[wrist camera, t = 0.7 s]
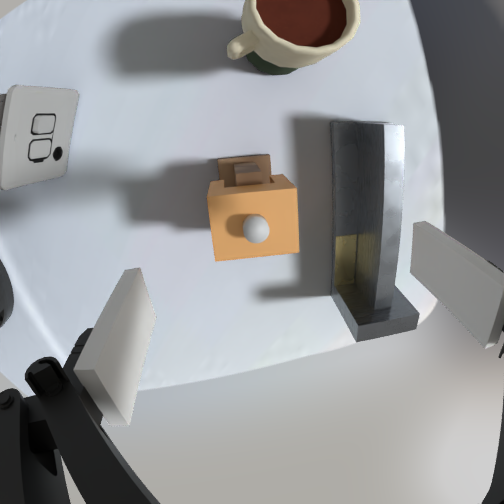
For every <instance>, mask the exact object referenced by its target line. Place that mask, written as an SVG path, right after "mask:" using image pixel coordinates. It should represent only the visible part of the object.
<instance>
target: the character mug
mask: <svg viewBox="0 0 504 504" xmlns="http://www.w3.org/2000/svg"><path fill="white" fill-rule="evenodd" d="M241 24H242V29H243V32H244V33H243V34H241V35H239V36H238V37H236V38H234V39H233V40H231V41H230V43H229V44H228V45H227V55H228V57H229V58H230V59H232V60H235V59H239V58H241V57H243V56H245V55H246V57H247V59H248V61H249V62H250V63H252V64H253V65H254V66H255V67H256V68H257V69H258V70H260V71H263V72H265V73H268V74H271V75H285V74H289V73H291V72H293V71H294V70H296V69H298V68H301V67H305V66H308V65H312V64H315V63H317V62H318V61H320V60H322V59H324V58H325V57H327V56H329V55H331V54H332V53H334V52H336V51H337V50H339V49H340V48H341V47H342V46H344V45H345V44H346V43H347V42H349V41H350V40H351V39H352V38H353V37H354V35H355V33H356V31H357V28H358V26H359V24H360V4H359V2H358V0H245V3H244V6H243V14H242V16H241Z"/></svg>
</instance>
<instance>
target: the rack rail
mask: <svg viewBox="0 0 504 504" xmlns="http://www.w3.org/2000/svg"><path fill="white" fill-rule="evenodd" d="M330 124H331V144H332V175H333V254H332V286H331V297H332V298H333V300H334V302H335V304H336V306H337V307H338V309H339V311H340V313H341V315H342V317H343V318H344V320H345V322H346V324H347V326H348V328H349V329H350V331H351V333H352V335H353V337H354V339H355V341H356V342H360V341H365V340H370V339H375V338H379V337H384V336H389V335H393V334H397V333H402V332H406V331H410V330H414V329H416V327H417V323H418V319H419V314H420V313H419V312H418V311H417V310H416V309H415V308H414V306H413V305H412V304H411V303H410V302H409V301H408V300H407V298H406V297H405V296H404V295H403V294H402V293H401V292H400V291H399V289H398V288H397V287H396V286H395V278H396V270H397V262H398V253H399V244H400V233H401V221H402V207H403V187H404V125H395V124H394V123H373V122H330Z"/></svg>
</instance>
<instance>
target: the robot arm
mask: <svg viewBox="0 0 504 504" xmlns="http://www.w3.org/2000/svg"><path fill="white" fill-rule="evenodd" d="M410 273H411V274H412V275H413V276H414V277H415V278H416V279H417V280H418V281H419V282H421V283H422V284H423V285H424V286H425V287H426V288H427V289H428V290H429V291H430V292H431V293H432V294H433V295H434V296H435V297H436V298H437V299H438V300H439V301H440V302H441V303H442V304H443V305H444V306H445V307H446V308H447V309H448V310H449V311H450V312H451V313H452V314H453V315H454V316H455V317H456V319H457V320H459V322H460V323H461V324H462V325H463V326H464V327H465V328H466V329H467V330H468V331H469V332H470V333H471V334H472V335H473V337H474V338H475V339H476V340H477V341H478V342H479V343H480V344H481V345H482V346H483V348H484V349H486V348H488V347H491V346H493V345H495V344H497V343H498V340H499V338H500V335H501V332H502V331H503V332H504V272H503V271H502V270H501V269H500V268H497V266H495V265H494V264H493V263H491V262H490V261H487V260H485V259H483V258H482V257H480V256H479V255H477V254H476V253H474V252H473V251H471V250H470V249H468V248H467V247H465V246H464V245H462V244H461V243H460V242H458V241H456V240H455V239H453V238H452V237H450V236H449V235H447V234H446V233H444V232H442V231H441V230H439V229H438V228H436V227H434V226H433V225H431V224H430V223H428V222H426V221H422V222H416V223H413V241H412V255H411V267H410ZM13 305H14V297H13V290H12V286H11V282H10V279H9V276H8V274H7V271H6V269H5V267H4V265H3V263H2V262H1V260H0V328H1V327H2V326H3V325H4V324H5V322H6V321H7V320H8V319H9V317H10V316H11V314H12V311H13ZM155 321H156V314H155V311H154V309H153V306H152V303H151V300H150V297H149V294H148V291H147V288H146V285H145V281H144V278H143V275H142V272H141V269H140V268H134V269H128V270H125V271H124V273H123V275H122V276H121V278H120V280H119V282H118V283H117V285H116V287H115V289H114V291H113V292H112V294H111V296H110V298H109V300H108V302H107V303H106V305H105V307H104V309H103V311H102V313H101V315H100V317H99V319H98V320H97V322H96V324H95V326H94V328H87V329H86V330H85V331H84V332H83V333H82V334H81V335H80V336H79V338H78V340H77V342H76V343H75V347H73V349H72V351H71V354H70V355H69V357H68V359H67V361H66V363H65V365H64V367H63V368H62V367H61V365H60V363H59V362H58V360H57V359H56V358H54V357H43V358H41V359H38V360H37V361H35V362H34V363H32V364H31V365H30V367H29V368H28V369H27V371H26V373H25V380H26V382H27V383H28V385H29V386H30V387H31V389H32V390H33V392H34V393H35V394H36V395H34V396H30V397H26V398H23V397H22V395H21V394H20V392H19V391H18V390H17V389H13V388H11V389H7V390H5V391H2V392H1V393H0V504H71V503H70V499H69V495H68V490H67V486H66V481H65V476H64V471H63V466H62V460H61V456H62V458H63V461H64V463H65V465H66V466H67V469H68V471H69V473H70V475H71V477H72V479H73V481H74V483H75V484H76V486H77V488H78V490H79V492H80V494H81V495H82V497H83V499H84V501H85V502H86V504H160V503H159V502H158V500H157V499H156V498H155V497H154V496H153V495H152V493H151V492H150V491H149V490H148V489H147V488H146V486H145V485H144V484H143V483H142V481H141V480H140V479H139V478H138V476H137V475H136V474H135V472H134V471H133V470H132V469H131V467H130V466H129V465H128V463H127V462H126V461H125V459H124V458H123V457H122V455H121V454H120V452H119V451H118V449H117V448H116V447H115V445H114V444H113V442H112V441H111V439H110V438H109V436H108V435H107V433H106V432H105V430H104V429H103V428H102V426H101V425H100V424H101V421H102V417H104V418H105V419H106V421H107V422H108V423H109V425H110V426H130V421H131V417H132V412H133V408H134V404H135V399H136V395H137V391H138V386H139V382H140V378H141V374H142V370H143V366H144V362H145V358H146V354H147V351H148V347H149V343H150V339H151V336H152V332H153V328H154V325H155ZM503 353H504V344H503V347H502V349H501V352H500V354H499V358H501V356H502V354H503ZM482 504H504V399H503V413H502V423H501V431H500V439H499V446H498V452H497V458H496V464H495V470H494V474H493V479H492V483H491V487H490V489H489V491H488V493H487V495H486V497H485V498H484V500H483V502H482Z"/></svg>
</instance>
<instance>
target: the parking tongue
mask: <svg viewBox="0 0 504 504" xmlns="http://www.w3.org/2000/svg"><path fill="white" fill-rule="evenodd" d="M217 161H218V170H219V179H220V180H224V183H225V188H227V187H236V186H246V185H256V184H267V183H270V178H269V175H271V162H270V155H269V154H266V155H254V156H243V157H233V158H223V159H218V160H217Z"/></svg>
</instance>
